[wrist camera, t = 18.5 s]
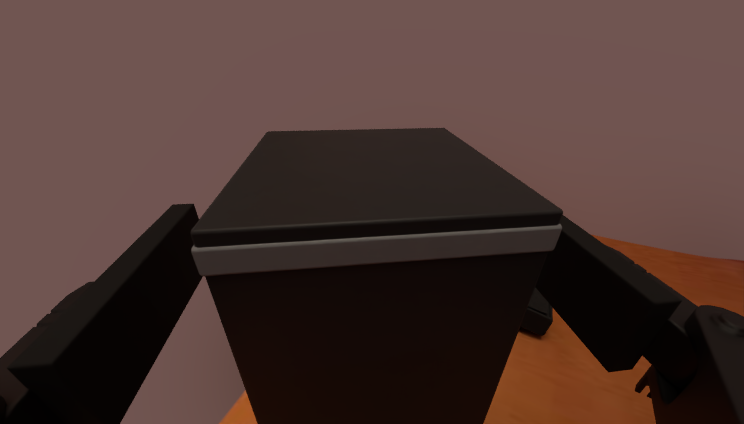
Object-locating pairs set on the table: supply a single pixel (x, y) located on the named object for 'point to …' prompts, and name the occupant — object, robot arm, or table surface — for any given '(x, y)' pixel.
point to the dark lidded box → (372, 274)
